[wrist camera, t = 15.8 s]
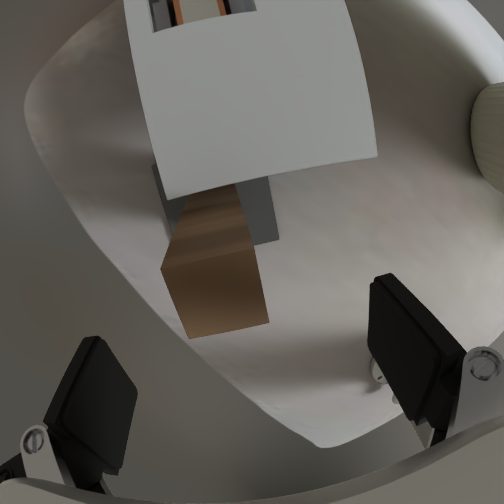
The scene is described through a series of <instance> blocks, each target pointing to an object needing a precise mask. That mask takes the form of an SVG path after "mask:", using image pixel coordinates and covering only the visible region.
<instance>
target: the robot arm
mask: <svg viewBox="0 0 504 504" xmlns="http://www.w3.org/2000/svg"><path fill="white" fill-rule="evenodd" d="M367 343H368V348H369V350H370V352H371V354H372V356H373V360H372V362H371V366H370V371H371V374H372V376H373V378H374V379H375V380H376V381H377V382H379V383H385V384H389V386H390V387H391V389H392V391H393V393H394V394H393V397H392V401H393V403H395V404H400V406H401V407H402V409H403V411H404V413H405V415H406V417H407V418H408V420H409V421H410V422H411V424H412V426H413V428H414V430H415V431H416V433H417V435H418V437H419V439H420V441H421V443H422V445H423V446H424V448H425V450H424V451H422V452H420V453H418V454H415V455H413V456H411V457H409V458H407V459H404V460H402V461H400V462H398V463H395V464H393V465H390V466H388V467H385V468H383V469H380V470H377V471H375V472H372V473H369V474H367V475H364V476H361V477H358V478H355V479H352V480H349V481H346V482H342V483H339V484H336V485H332V486H328V487H325V488H320V489H317V490H312V491H308V492H303V493H299V494H294V495H289V496H282V497H277V498H270V499H263V500H255V501H246V502H233V503H214V504H504V360H503V358H502V356H501V355H500V354H499V353H498V352H497V351H496V350H494V349H492V348H489V347H485V346H483V347H476V348H473V349H471V350H470V351H469V352H468V353H467V352H466V351H465V350H464V349H463V347H462V346H461V345H460V344H459V343H458V342H457V340H456V339H455V338H454V337H453V336H452V335H451V334H450V333H449V331H448V330H447V329H446V328H445V327H444V326H443V325H442V324H441V323H440V322H439V321H438V319H437V318H436V317H435V316H434V315H433V314H432V313H431V312H430V311H429V310H428V309H427V308H426V307H425V306H424V305H423V304H422V303H421V302H420V301H419V300H418V299H417V298H416V297H415V296H414V295H413V294H412V293H411V292H410V291H409V290H408V289H407V288H406V287H405V286H404V285H403V284H402V283H401V282H400V281H399V280H398V279H397V278H396V277H395V276H394V275H393V274H392V273H388V274H384V275H381V276H377V277H375V278H374V282H372V283H371V284H370V298H369V324H368V340H367ZM137 395H138V393H137V389H136V387H135V385H134V384H133V382H132V381H131V380H130V378H129V377H128V375H127V374H126V372H125V371H124V369H123V368H122V366H121V365H120V363H119V362H118V360H117V359H116V357H115V356H114V354H113V353H112V351H111V349H110V348H109V346H108V345H107V343H106V342H105V340H103V339H101V338H100V337H99V336H91V337H85V338H84V339H83V340H82V342H81V344H80V345H79V347H78V349H77V351H76V353H75V355H74V357H73V359H72V361H71V362H70V364H69V366H68V368H67V370H66V372H65V374H64V376H63V378H62V380H61V382H60V384H59V386H58V389H57V391H56V393H55V395H54V397H53V400H52V402H51V404H50V406H49V408H48V411H47V413H46V415H45V417H44V420H43V422H44V423H45V424H46V425H47V426H48V429H47V430H46V429H45V428H44V427H43V426H40V425H34V426H32V427H30V428H29V429H28V430H26V432H25V433H24V434H23V436H22V438H21V442H20V448H21V453H19V454H18V455H16V456H15V457H13V458H12V459H10V460H9V461H7V462H6V463H4V464H2V465H1V466H0V504H181V503H164V502H151V501H142V500H134V499H127V498H121V497H115V496H113V494H112V493H111V491H110V489H109V488H108V486H107V484H106V482H105V481H104V479H103V477H102V473H103V472H104V473H106V474H110V475H118V472H119V469H120V468H121V467H122V465H123V460H124V455H125V449H126V444H127V440H128V435H129V430H130V426H131V421H132V417H133V412H134V408H135V404H136V400H137ZM182 504H184V503H182Z"/></svg>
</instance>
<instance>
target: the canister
mask: <svg viewBox="0 0 504 504" xmlns="http://www.w3.org/2000/svg"><path fill="white" fill-rule="evenodd" d="M470 124H471V129H470V131H471V140H472V147H473V154H474V155H475V160H476V162H477V165H478V168H479V169H480V171H481V173H482V175H483V176H484V177H485V179H486V180H487V181H488V182H489V183H490V184H491V185H492V186H493V187H494V188H496V189H497V190H498V191H500V192H502V193H503V194H504V82H501V83H496V84H492V85H490V86H487V87H486V88H484V90H482V91H481V92H480V94H479V95H478V96H477V98H476V101H475V102H474V107H473V108H472V114H471V122H470Z"/></svg>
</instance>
